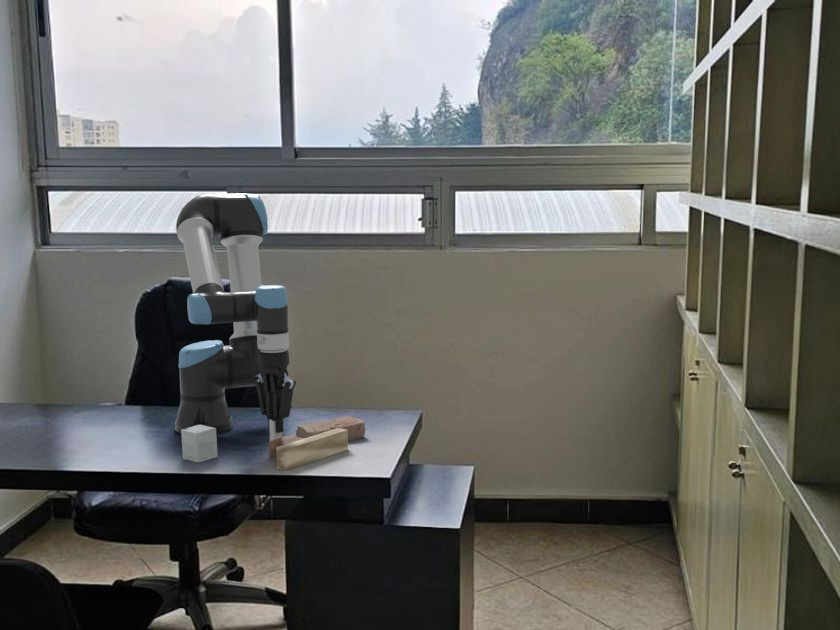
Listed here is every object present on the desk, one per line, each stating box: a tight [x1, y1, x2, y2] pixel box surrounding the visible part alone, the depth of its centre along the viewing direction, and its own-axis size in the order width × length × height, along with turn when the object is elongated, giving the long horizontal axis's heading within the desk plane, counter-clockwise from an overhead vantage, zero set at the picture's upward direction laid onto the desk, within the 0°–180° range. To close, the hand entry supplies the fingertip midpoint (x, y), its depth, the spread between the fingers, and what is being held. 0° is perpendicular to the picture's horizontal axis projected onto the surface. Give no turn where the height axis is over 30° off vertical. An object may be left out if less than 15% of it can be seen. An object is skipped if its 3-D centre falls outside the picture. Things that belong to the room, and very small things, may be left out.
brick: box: [295, 415, 366, 441], centre depth 229 cm, size 17×8×5 cm, turn 122°
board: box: [276, 428, 349, 471], centre depth 212 cm, size 3×21×5 cm, turn 142°
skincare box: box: [180, 425, 218, 464], centre depth 213 cm, size 6×6×7 cm
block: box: [268, 434, 305, 459], centre depth 215 cm, size 7×7×4 cm
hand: (276, 444), depth 217 cm, fingers closed
